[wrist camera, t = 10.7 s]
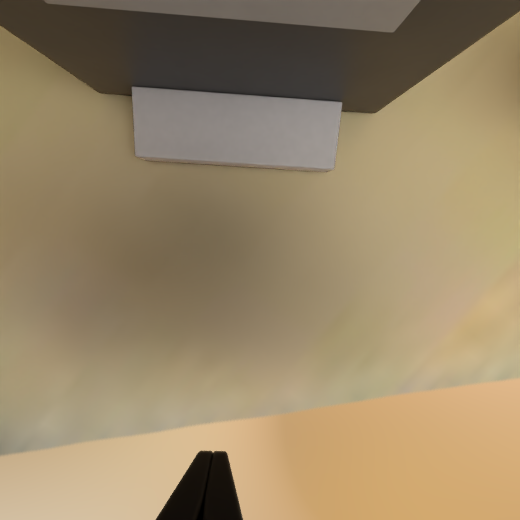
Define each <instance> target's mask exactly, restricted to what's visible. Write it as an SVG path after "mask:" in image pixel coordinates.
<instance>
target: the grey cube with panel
mask: <svg viewBox="0 0 520 520" xmlns="http://www.w3.org/2000/svg"><path fill="white" fill-rule="evenodd" d="M519 11H520V0H0V25H1V26H2V27H4V28H5V29H7V30H8V31H9V32H11V33H12V34H14V35H15V36H17V37H18V38H20V39H21V40H23V41H24V42H26V43H27V44H29V45H30V46H31V47H33V48H34V49H36V50H37V51H39V52H40V53H42V54H43V55H45V56H46V57H48V58H49V59H51V60H52V61H54V62H55V63H56V64H58V65H59V66H61V67H62V68H64V69H65V70H67V71H68V72H70V73H71V74H73V75H74V76H76V77H77V78H78V79H80V80H81V81H83V82H84V83H86V84H87V85H89V86H90V87H92V88H93V89H95V90H96V91H98V92H99V93H110V94H124V95H132V104H133V123H134V143H135V156H136V157H138V158H141V159H144V160H148V161H164V162H179V163H195V164H210V165H226V166H241V167H256V168H272V169H287V170H303V171H318V172H328V171H331V170H333V169H334V168H335V160H336V151H337V143H338V135H339V126H340V118H341V110H343V111H356V112H370V113H376V112H378V111H379V110H380V109H382V108H383V107H385V106H386V105H387V104H389V103H390V102H392V101H393V100H395V99H396V98H397V97H399V96H400V95H402V94H403V93H404V92H406V91H407V90H409V89H410V88H412V87H413V86H414V85H416V84H417V83H419V82H420V81H421V80H423V79H424V78H426V77H427V76H428V75H430V74H431V73H433V72H434V71H436V70H437V69H438V68H440V67H441V66H443V65H444V64H445V63H447V62H448V61H450V60H451V59H453V58H454V57H455V56H457V55H458V54H460V53H461V52H462V51H464V50H465V49H467V48H468V47H469V46H471V45H472V44H474V43H475V42H477V41H478V40H479V39H481V38H482V37H484V36H485V35H486V34H488V33H489V32H491V31H492V30H493V29H495V28H496V27H498V26H499V25H501V24H502V23H503V22H505V21H506V20H508V19H509V18H510V17H512V16H513V15H515V14H516V13H518V12H519Z"/></svg>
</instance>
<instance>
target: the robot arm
mask: <svg viewBox="0 0 520 520" xmlns="http://www.w3.org/2000/svg"><path fill="white" fill-rule="evenodd" d="M156 520H243V518H242V514H241V510H240V505H239V501H238V497H237V493H236V489H235V485H234V480H233V476H232V472H231V468H230V463H229V460H228V455H227V453H226V452H225V451H215V452H214V453H213V452H212V451H200V452H199V453H198V454H197V455H196V457H195V459H194V460H193V462H192V463H191V465H190V467H189V468H188V470H187V471H186V473H185V475H184V476H183V478H182V479H181V481H180V482H179V484H178V485H177V487H176V489H175V490H174V492H173V493H172V495H171V496H170V498H169V500H168V501H167V503H166V504H165V506H164V508H163V509H162V511H161V512H160V514H159V515H158V517H157V519H156Z"/></svg>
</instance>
